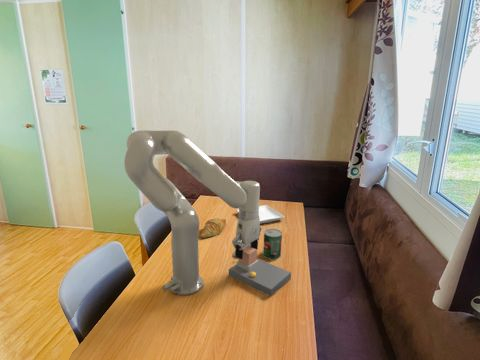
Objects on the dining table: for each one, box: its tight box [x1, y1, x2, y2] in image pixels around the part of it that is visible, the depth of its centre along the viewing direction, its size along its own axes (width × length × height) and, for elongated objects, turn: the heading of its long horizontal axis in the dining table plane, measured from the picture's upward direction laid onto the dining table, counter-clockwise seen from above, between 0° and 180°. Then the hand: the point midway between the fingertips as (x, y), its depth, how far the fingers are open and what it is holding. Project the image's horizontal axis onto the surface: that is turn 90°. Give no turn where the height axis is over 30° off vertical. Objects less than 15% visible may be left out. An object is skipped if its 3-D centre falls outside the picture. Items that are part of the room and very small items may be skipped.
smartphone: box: [232, 243, 251, 259], centre depth 143 cm, size 8×1×15 cm
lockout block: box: [238, 246, 258, 266], centre depth 124 cm, size 5×5×5 cm
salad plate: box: [236, 204, 285, 225], centre depth 180 cm, size 21×21×3 cm
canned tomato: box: [263, 228, 283, 260], centre depth 138 cm, size 8×8×11 cm
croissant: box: [200, 218, 227, 239], centre depth 161 cm, size 21×10×8 cm, turn 152°
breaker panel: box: [228, 257, 292, 297], centre depth 122 cm, size 14×20×5 cm
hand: (246, 253), depth 124 cm, fingers open, 9 cm apart
